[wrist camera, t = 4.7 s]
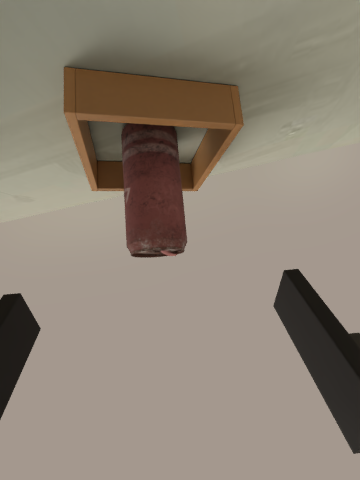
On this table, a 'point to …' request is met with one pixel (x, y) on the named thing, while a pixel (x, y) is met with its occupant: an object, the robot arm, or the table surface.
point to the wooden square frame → (149, 118)
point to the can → (152, 191)
